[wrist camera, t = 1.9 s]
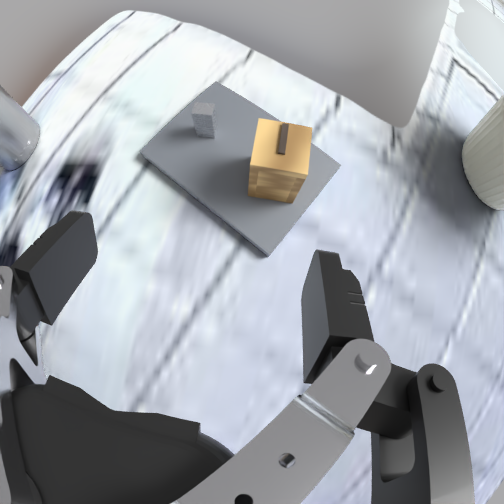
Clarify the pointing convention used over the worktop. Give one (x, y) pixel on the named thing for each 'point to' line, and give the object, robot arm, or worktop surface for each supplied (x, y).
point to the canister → (487, 157)
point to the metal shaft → (205, 119)
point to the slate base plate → (232, 168)
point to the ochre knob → (279, 160)
